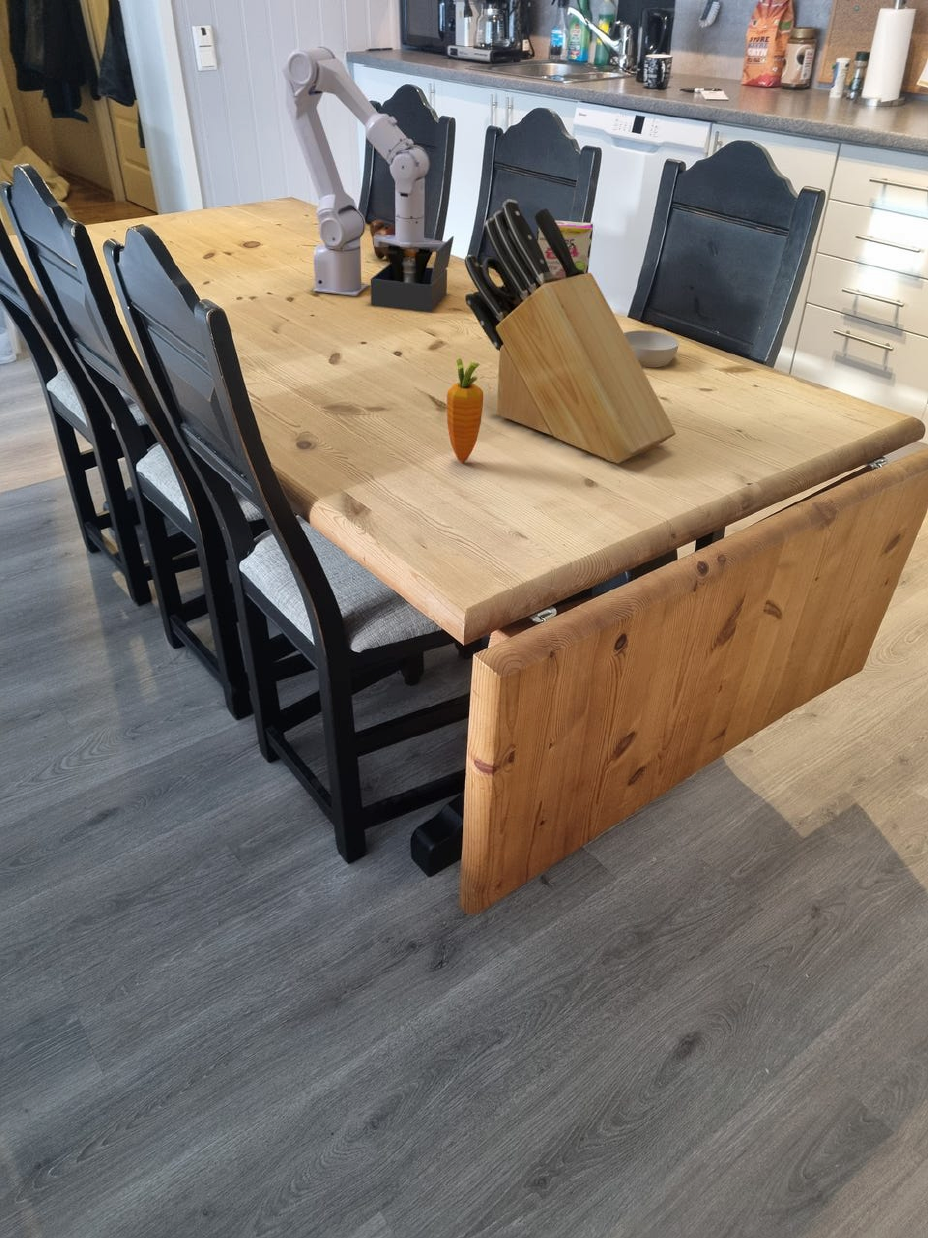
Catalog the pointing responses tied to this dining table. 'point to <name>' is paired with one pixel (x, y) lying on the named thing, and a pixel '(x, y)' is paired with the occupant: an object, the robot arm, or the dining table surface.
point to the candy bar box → (569, 246)
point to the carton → (407, 291)
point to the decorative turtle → (381, 229)
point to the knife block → (561, 345)
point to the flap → (442, 258)
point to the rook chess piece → (409, 270)
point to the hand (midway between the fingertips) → (409, 285)
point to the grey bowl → (652, 347)
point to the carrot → (464, 411)
